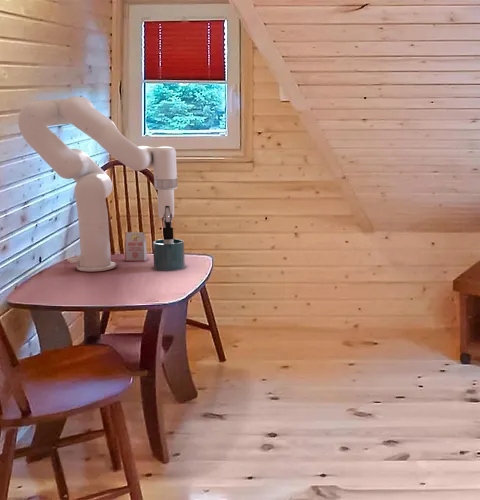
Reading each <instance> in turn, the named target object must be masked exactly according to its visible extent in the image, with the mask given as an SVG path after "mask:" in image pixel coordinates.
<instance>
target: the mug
mask: <svg viewBox="0 0 480 500" xmlns="http://www.w3.org/2000/svg"><path fill="white" fill-rule="evenodd" d="M173 243H174V244H164V238H162V239H157V240H153V241H152V248H153V249H152V251H153V269H154V270H156V271H163V272H168V271H169V272H170V271H179V270H182V269H184V268H185V267H186V257H185V240H183V239H180V238H173Z"/></svg>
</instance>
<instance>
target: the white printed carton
mask: <svg viewBox="0 0 480 500" xmlns="http://www.w3.org/2000/svg"><path fill="white" fill-rule="evenodd" d="M145 233H146V232H145V231H144V232H142V231H141V232H139V231H138V232H137V231H136V232H135V231H134V232H131V231H128V232H127V231H126V232H124V261H125V262H145V261H147V260H148V250H147V248H148V247H147V239H146V234H145Z"/></svg>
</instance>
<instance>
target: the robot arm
mask: <svg viewBox="0 0 480 500" xmlns="http://www.w3.org/2000/svg"><path fill="white" fill-rule="evenodd" d="M17 118H18V119H17V124H18V129H19V132H20V135H21V136H22V138H23V139H24V140H25V142H26V143H27V145H29V146H30V148H32V150H33V151H35V152H36V153H37V154H38V155H39V157H41V159H42V160H43V161H44V162H45V163H46V164H47V165H48V166H49V167H50V168H51V170H53V171H54V172H55V174H56V175H58V176H59V177H60V178H63V179H65V180H70V179H72V180H73V181H74V182H75V187H74V198H75V199H74V200H75V203H76V204H75V205H76V211H77V221H78V235H79V248H80V250H79V251H80V254H79V255H77V256H76V257H73V256H72V257H71V256H70V257H66V263H67V264H70V265H73V264H77V265H76V270H78V271H80V272H89V273H91V272H93V273H94V272H105V271H109V270H113V269H115V268H116V266H117V264H116V262H115V261H112V259H111V257H112V256H111V242H110V225H109V213H108V207H107V201H106V199H107V198H108V197H109V196H110V195H111V194H112V192H113V187H114V186H113V182H112V180H111V177H110V176H109V175H108V174H107V173H106V172H105V171H104V169H102V168H101V167H100V166H99V165H98V164H97V163H96V161H94V159H92V158H91V156H89V154H87V153H86V152H84V151H82V150H81V149H78V148H70V147H69V145H67V144H66V143H65V142H63V140H62V139H61V138H60V137H59V136H58V135H57V134H56V133H54V132H53V131H52V130H51V129H50V127H53V126H62V125H69V124H70V125H72V126H74V127H75V128H76V129H78V130H79V131H81V132H82V133H83V134H85V135H86V136H88V137H89V138H91V139H92V140H93V141H94V142H96V143H98V145H99V146H100V147H101V148H103V150H105V151H106V152H107V153H108V154H109V155H110V156H112V157H113V158H114V159H115V160H116V161H118V162H120V163H121V164H122V165H124V166H125V167H127V168H128V169H131V170H132V171H137V172H140V171H143V170H145V169H149V168H153V188H154V190H157V211H158V212H157V213H158V214H157V215H158V219H159V220H162V223H163V222H164V228H163V227H162V238H163V239H164V240H171V239H174V226H173V227H172V222H173V219H174V218H175V190H177V189H178V170H177V169H178V166H177V150H176V149H175V147H173V146H157V147H155V146H148V145H140V146H138V145H137V144H135V143H134V142H132V141H131V140H130V139H128V138H127V137H125V135H124V134H122V133H121V132H120V131H119V129H118V127H117V125H116V124H115V122H114V121H113V120H112V119H110V117H107V116H106V115H105V114H103V113H102V112H100V111H99V110H98V109H96V108H95V107H94V104H93V103H92V101H91V100H90V99H89V98H86V97H84V96H69V97H67V98H58V99H46V100H45V99H44V100H41V99H39V100H30V101H29V102H27V103H25V104H24V105H23V106H22V107H21V109H20V111H19V113H18V117H17ZM165 227H166V228H165Z"/></svg>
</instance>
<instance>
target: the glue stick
mask: <svg viewBox="0 0 480 500" xmlns="http://www.w3.org/2000/svg"><path fill="white" fill-rule="evenodd" d="M172 227H173V228H174V222H173V221H172ZM163 228H164V222H163V221H162V229H163ZM165 228H166V227H165ZM173 239H174V238H173ZM173 239H171V240H164V244H174V243H173Z"/></svg>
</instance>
